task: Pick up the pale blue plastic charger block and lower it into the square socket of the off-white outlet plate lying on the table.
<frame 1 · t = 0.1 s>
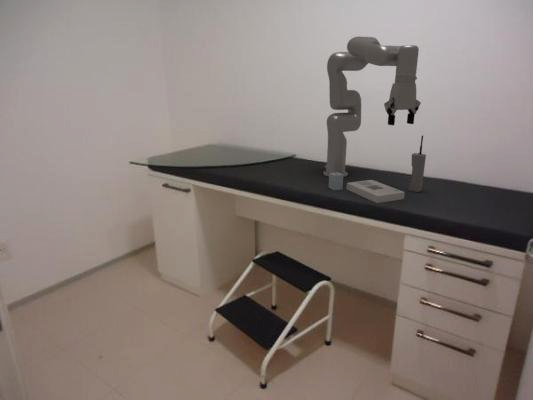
hand: (400, 124, 159), 31 cm above the table, tool pointing down, fingers open, 9 cm apart
vintage mobile phone: (414, 191, 180), on the table
outlet plate: (374, 193, 176), on the table
charger block: (335, 188, 184), on the table
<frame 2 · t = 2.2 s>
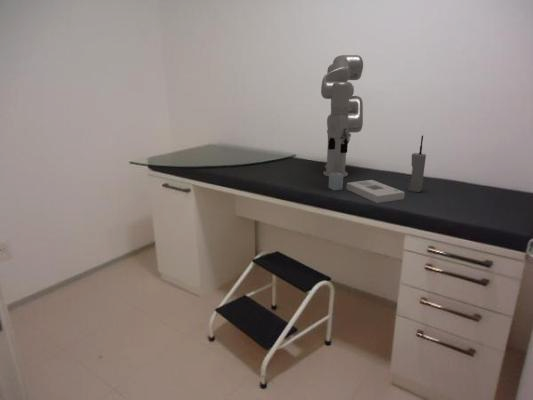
hand: (337, 151, 178), 17 cm above the table, tool pointing down, fingers open, 9 cm apart
nothing on the table moved.
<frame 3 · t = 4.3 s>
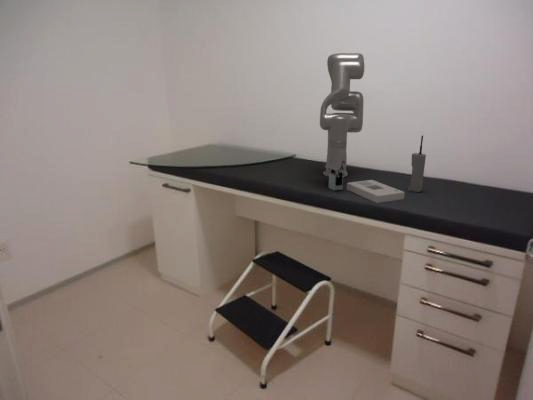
hand: (335, 183, 183), 2 cm above the table, tool pointing down, fingers closed on charger block, 4 cm apart
charger block: (335, 188, 184), on the table, touching gripper
everything else where it was.
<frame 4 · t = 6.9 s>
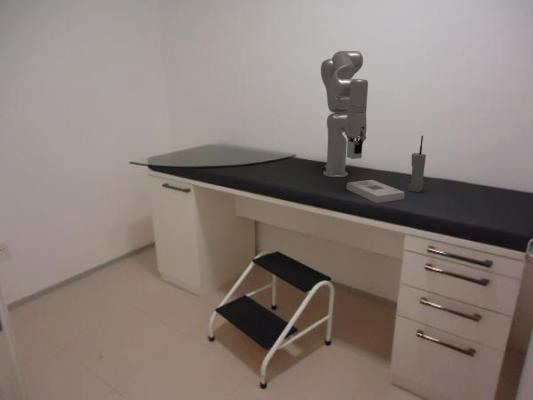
hand: (354, 152, 174), 18 cm above the table, tool pointing down, fingers closed on charger block, 4 cm apart
charger block: (354, 157, 175), point 15 cm above the table, touching gripper
everything else where it was.
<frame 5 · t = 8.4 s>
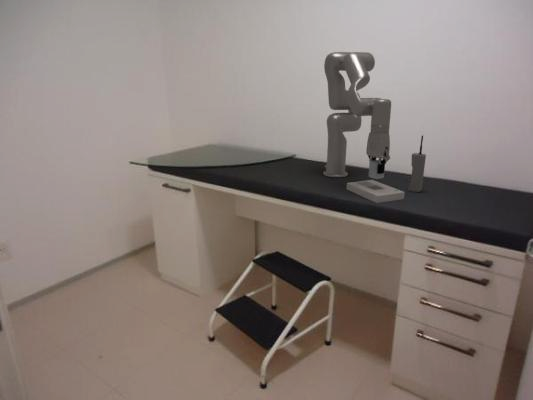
hand: (376, 171, 172), 10 cm above the table, tool pointing down, fingers closed on charger block, 4 cm apart
charger block: (376, 177, 173), point 8 cm above the table, touching gripper
everything else where it was.
when the fingers open (4 cm above the table, at t = 9.6 s): charger block drops 1 cm, resting on outlet plate.
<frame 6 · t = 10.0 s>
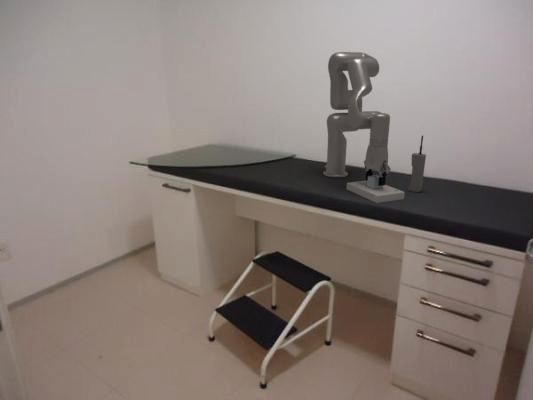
hand: (375, 182, 174), 5 cm above the table, tool pointing down, fingers open, 8 cm apart
charger block: (374, 192, 175), point 1 cm above the table, touching outlet plate
everything else where it was.
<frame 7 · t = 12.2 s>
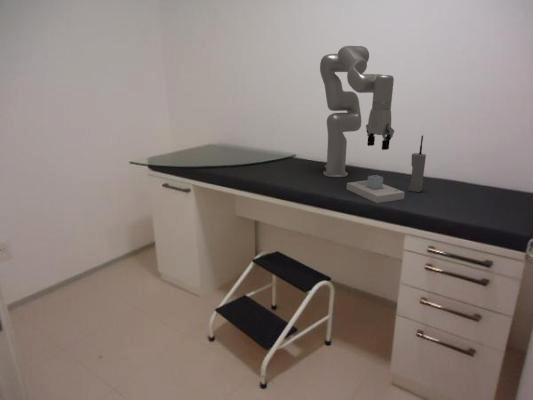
hand: (377, 147, 170), 20 cm above the table, tool pointing down, fingers open, 9 cm apart
nothing on the table moved.
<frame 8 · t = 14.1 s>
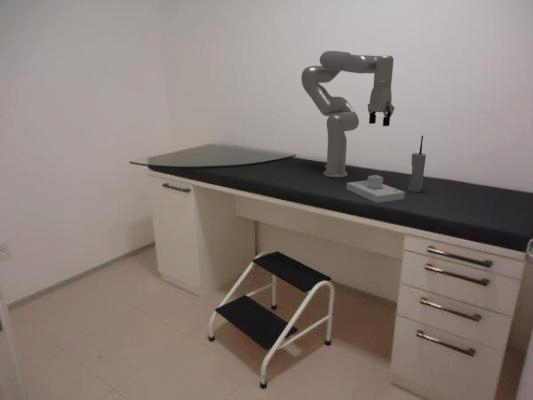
hand: (378, 124, 181), 28 cm above the table, tool pointing down, fingers open, 9 cm apart
nothing on the table moved.
at the end: charger block 0.0 cm off-centre on the outlet plate, point 0.8 cm above the outlet plate's base; charger block tilted 0°; the gripper is holding nothing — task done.
